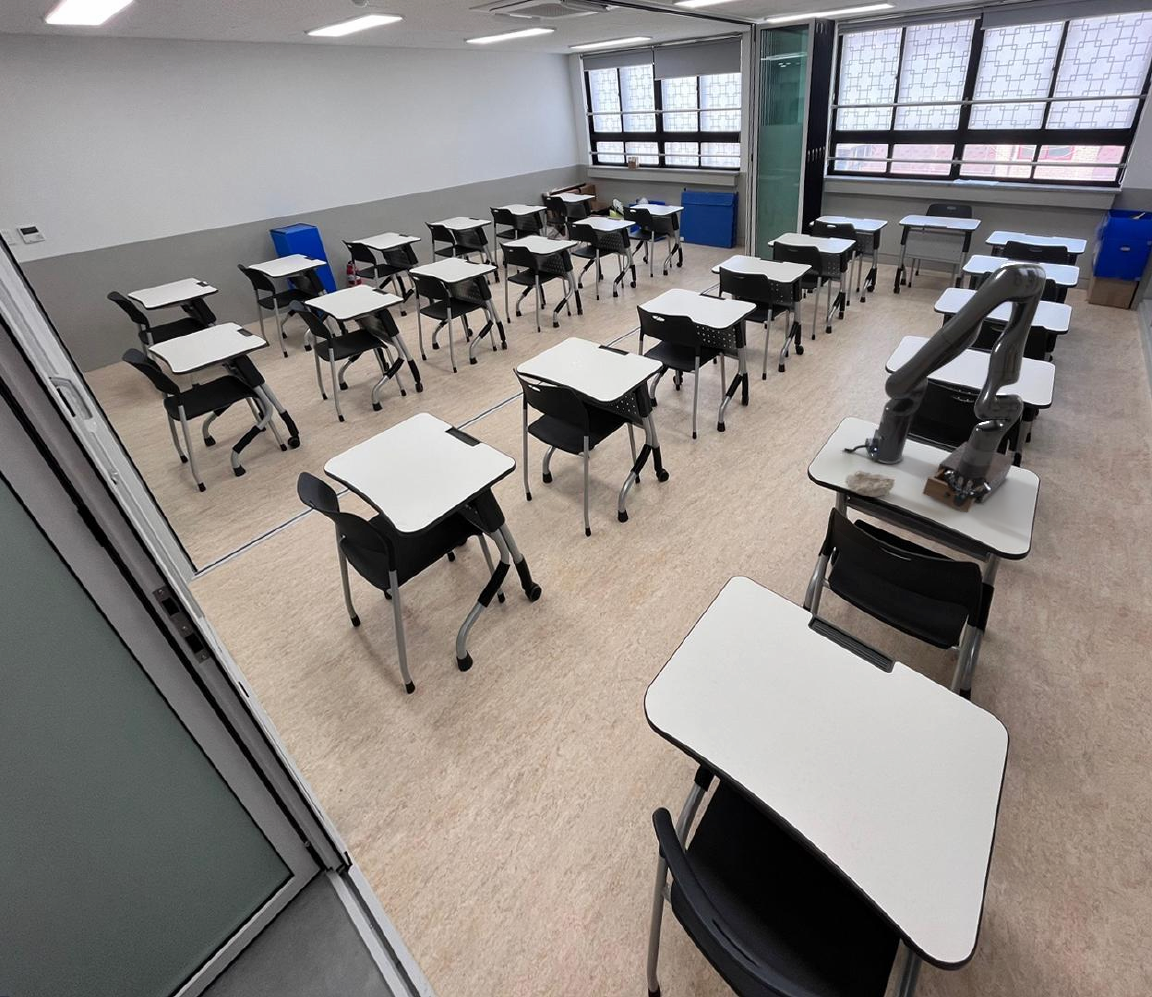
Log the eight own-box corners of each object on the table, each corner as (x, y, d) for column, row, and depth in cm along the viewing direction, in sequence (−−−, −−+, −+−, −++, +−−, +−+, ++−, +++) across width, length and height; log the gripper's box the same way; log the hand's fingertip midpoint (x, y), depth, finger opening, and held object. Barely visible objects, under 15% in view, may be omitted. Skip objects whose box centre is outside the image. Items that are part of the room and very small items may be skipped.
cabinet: (980, 503, 178) (989, 482, 173) (932, 483, 187) (939, 463, 182) (1005, 479, 186) (1014, 458, 181) (957, 461, 195) (965, 441, 190)
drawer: (965, 514, 173) (972, 498, 169) (920, 495, 182) (926, 479, 178) (991, 488, 181) (998, 472, 177) (947, 471, 190) (953, 456, 186)
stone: (873, 509, 185) (896, 490, 178) (840, 487, 186) (862, 468, 179) (875, 496, 190) (898, 477, 183) (844, 475, 191) (865, 455, 184)
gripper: (1008, 461, 160) (986, 509, 171) (959, 443, 169) (941, 490, 180) (996, 472, 157) (975, 520, 168) (946, 454, 166) (929, 500, 176)
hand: (957, 504), depth 174 cm, fingers closed
